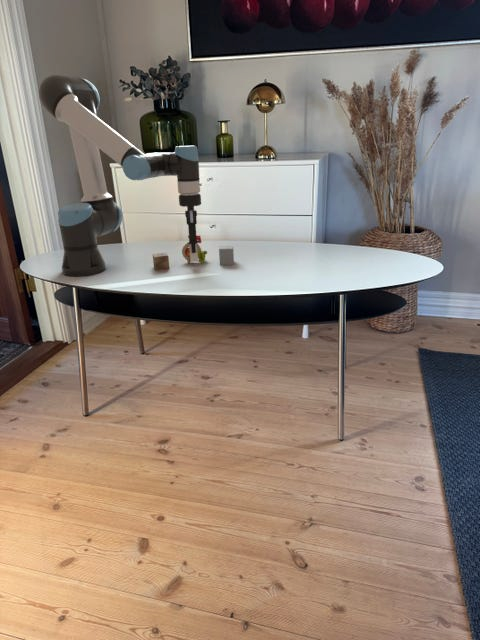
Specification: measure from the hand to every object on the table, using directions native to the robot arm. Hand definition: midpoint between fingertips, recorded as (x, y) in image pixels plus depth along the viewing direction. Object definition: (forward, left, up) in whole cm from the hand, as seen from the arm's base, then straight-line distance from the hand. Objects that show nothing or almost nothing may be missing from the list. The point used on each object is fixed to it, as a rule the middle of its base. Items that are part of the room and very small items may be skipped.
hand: (194, 261), depth 172 cm
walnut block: (-12, +3, -3) cm, 12 cm away
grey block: (+12, +4, -3) cm, 13 cm away
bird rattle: (+1, +8, -3) cm, 8 cm away
